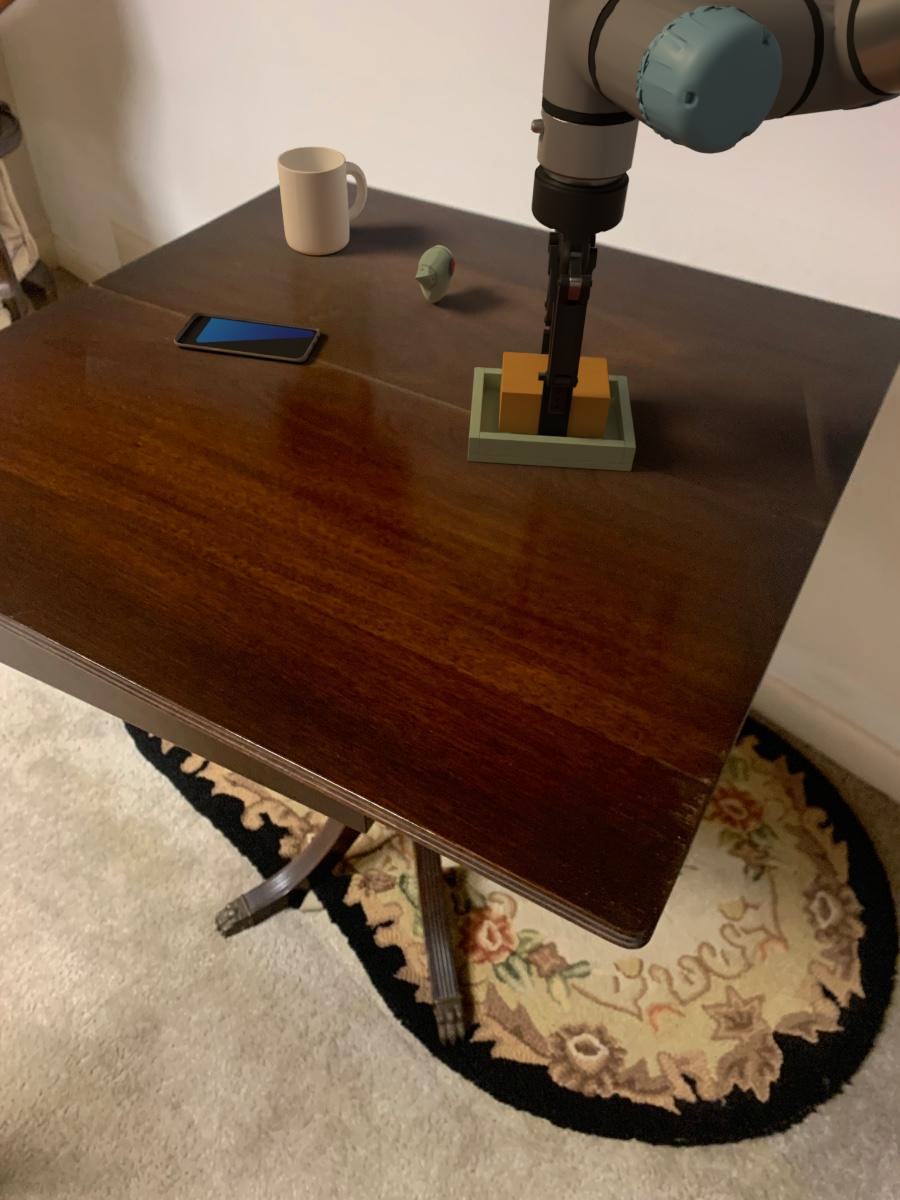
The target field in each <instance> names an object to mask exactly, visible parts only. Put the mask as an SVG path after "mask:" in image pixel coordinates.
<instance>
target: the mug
mask: <svg viewBox="0 0 900 1200" xmlns="http://www.w3.org/2000/svg"><path fill="white" fill-rule="evenodd" d="M276 165H277V166H276V167H277V173H278V183H279V190H280V191H279V193H280V201H281V202H280V203H281V211H282V212H281V213H282V220H283V229H284V237H285V241H286V243H287V245H288V246H289V247H290V248H291V249H292V250H293V251H295V252H297V253H300V254H302V255H303V254H304V255H306V256H307V255H309V256H327V255H333V254H334V253H335V254H336V253H337V252H340V251H342V250H343V249H344V248H345V247H346V246H347V245H348V244H349V241H350V235H351V234H350V222H352V221H353V220H355V219H356V218H357V217H358V216H359V215H360V214H361V213H362V211H363V209H364V208H365V206H366V202H367V198H368V183H367V177H366V175H365V173H364V170H363V169H362V167H360V166H359V165H358V164H357V163H354V162H352V161H347V159H346V156H345V155H344V154H343V153H342V152H341V151H339V150H336V149H334V148H329V147H325V146H301V147H295V148H291V149H287V150H285V151H283V152H282V153H280V154H279V155H278V157H277V158H276ZM348 175H350V176H352V178H354V180H355V184H356V197H355V200H354V202H353V204H352V205H351V206H350V207H349V196H348V195H349V193H348V179H347V178H348Z"/></svg>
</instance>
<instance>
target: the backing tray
mask: <svg viewBox="0 0 900 1200" xmlns="http://www.w3.org/2000/svg"><path fill="white" fill-rule="evenodd" d="M501 377H502V368H497V367H479V366H477V367H474V372H473V382H472V383H473V384H472V396H471V405H470V406H471V407H470V422H469V431H468V432H469V433H468V449H467V462H476V463H491V464H506V465H508V464H509V465H524V466H538V467H540V466H541V467H555V468H556V467H557V468H570V469H571V468H572V469H587V470H603V471H621V472H631V471H632V468H633V464H634V458H635V454H636V450H637V445H636V436H635V429H634V421H633V415H632V414H633V413H632V407H631V399H630V392H629V391H630V390H629V384H628V383H629V382H628V377H627V376H626V375H613V374H608V378H609V387H610V397H611V400H610V405H609V411H608V416H607V421H606V427H605V432H604V437H603V438H587V437H570V436H566V437H555V436H539V435H537V434H522V433H506V432H499V409H500V389H501Z"/></svg>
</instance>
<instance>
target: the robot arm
mask: <svg viewBox="0 0 900 1200" xmlns="http://www.w3.org/2000/svg"><path fill="white" fill-rule="evenodd" d="M548 3H549V5H548V14H547V27H546V28H547V29H546V41H545V52H544V64H543V65H544V66H543V67H544V68H543V77H542V91H541V93H542V98H541V111H540V117H541V118H537V119H536V118H533V120H532V121H531V124H530V130H531V132H532V133H534V134H539V135H538V141H537V143H538V144H537V153H536V159H537V160H536V161H537V163H539V165H538V166H536V168H535V170H534V173H533V174H534V175H533V186H532V199H531V207H530V208H531V213H532V215H533V217H534V219H535V220H536V221H537V223H539V224H540V225H542V226H544V227H546V228H547V229H550V230H554V231H549V234H548V240H547V253H548V260H547V275H548V284H547V290H546V291H547V292H546V300H545V301H544V305H543V307H544V308H545V314H544V315H545V316H544V318H543V323H544V327H547V328H544V329H543V332H542V341H541V350H540V354H548V366H547V371H546V372H545V373H542V372H538V381H543V389H542V398H541V406H540V415H539V423H538V432H537V435H539V436H555V437H566V435H567V428H568V422H569V415H570V408H571V401H572V395H573V388H576V386H577V384H578V378H577V376H578V369H579V362H580V356H581V354H582V346H583V338H584V331H585V325H586V316H587V311H588V310H587V309H588V304H589V303H588V302H589V300H590V296H591V288H592V287H593V280H592V279H593V272H594V270H595V269H596V267H597V263H598V262H597V261H598V247H597V246H596V241H597V234H600V233H606V232H608V231H611V230H613V229H614V228H616V227H617V226H618V225H619V224H620V223H621V222H622V220H623V217H624V213H625V207H626V201H627V196H628V195H627V194H628V189H629V183H630V177H629V175H628V173H627V172H628V171H630V169H632V167H633V163H634V157H635V151H636V146H637V139H638V134H639V129H640V123H642V124H644V125H645V126H647V127H649V128H650V129H652V131H653V132H654V133H655V134H656V135H659V136H660V137H661V138H662V139H664V140H669V141H671V142H672V143H673V144H674V145H678V146H683V147H684V148H685V147H686V148H687V149H690V150H691V151H694V152H697V153H700V154H708V155H709V154H710V155H713V154H719V153H723V152H724V153H725V152H726V151H727V152H728V151H729V150H731V149H732V148H734V147H736V145H737V144H738V143H739V142H741V141H742V140H744V139H745V138H747V137H750V136H751V135H752V134H754V133H755V132H756V131H757V130H758V129H759V127H760V126H761V125H762V124H763V122H766V121H771V120H779V119H783V118H785V117H793V116H801V115H808V114H816V113H817V114H818V113H826V112H832V111H841V110H842V111H852V110H859V109H863V108H864V109H865V108H870V107H873V106H876V105H879V104H881V103H885V102H888V101H892V100H895V99H896V98H898V97H900V0H549V2H548ZM548 327H549V328H548Z"/></svg>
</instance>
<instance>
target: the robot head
mask: <svg viewBox="0 0 900 1200" xmlns="http://www.w3.org/2000/svg"><path fill="white" fill-rule="evenodd" d="M455 269H456V260H455V257H454V255H453V252H452V251H451V250H450V249H449V248H448V247H446V246H444V245H440V244H437V245H434V246H432V247H430V248H429V249H427V250H425V252H424V253H423V254H422V256H421V257H420V259H419V262H418V266H417V271H416V274H415V276H414V279H415V280H416V281H417V282H418V283H419V287H420V290H421V292H422V295H423V297H424V298H425V300H426V301H427V302H430V303H433V304H435V303H437V302H438V301H440V300H441V299H442V298H443V297H445V295H446V294H447V293H448V290H449V289H450V287H451V284H452V282H453V280H454V273H455Z"/></svg>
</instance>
